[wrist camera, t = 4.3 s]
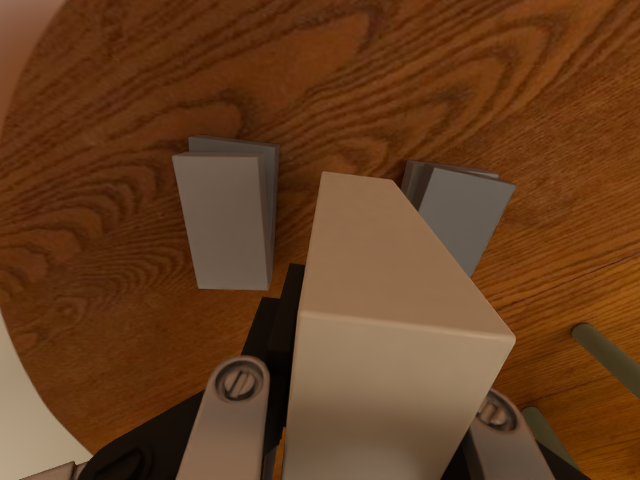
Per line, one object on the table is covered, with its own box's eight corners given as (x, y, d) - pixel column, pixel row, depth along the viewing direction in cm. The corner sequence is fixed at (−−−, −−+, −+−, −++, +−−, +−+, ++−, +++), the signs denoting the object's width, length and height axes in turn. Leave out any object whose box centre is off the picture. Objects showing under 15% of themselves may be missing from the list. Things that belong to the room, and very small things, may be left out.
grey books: (195, 130, 18) (168, 134, 15) (489, 166, 18) (520, 177, 15) (204, 263, 21) (184, 287, 19) (444, 290, 22) (462, 318, 19)
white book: (322, 170, 12) (297, 312, 4) (393, 179, 12) (521, 339, 4) (304, 319, 15) (272, 561, 7) (360, 326, 15) (390, 574, 7)
